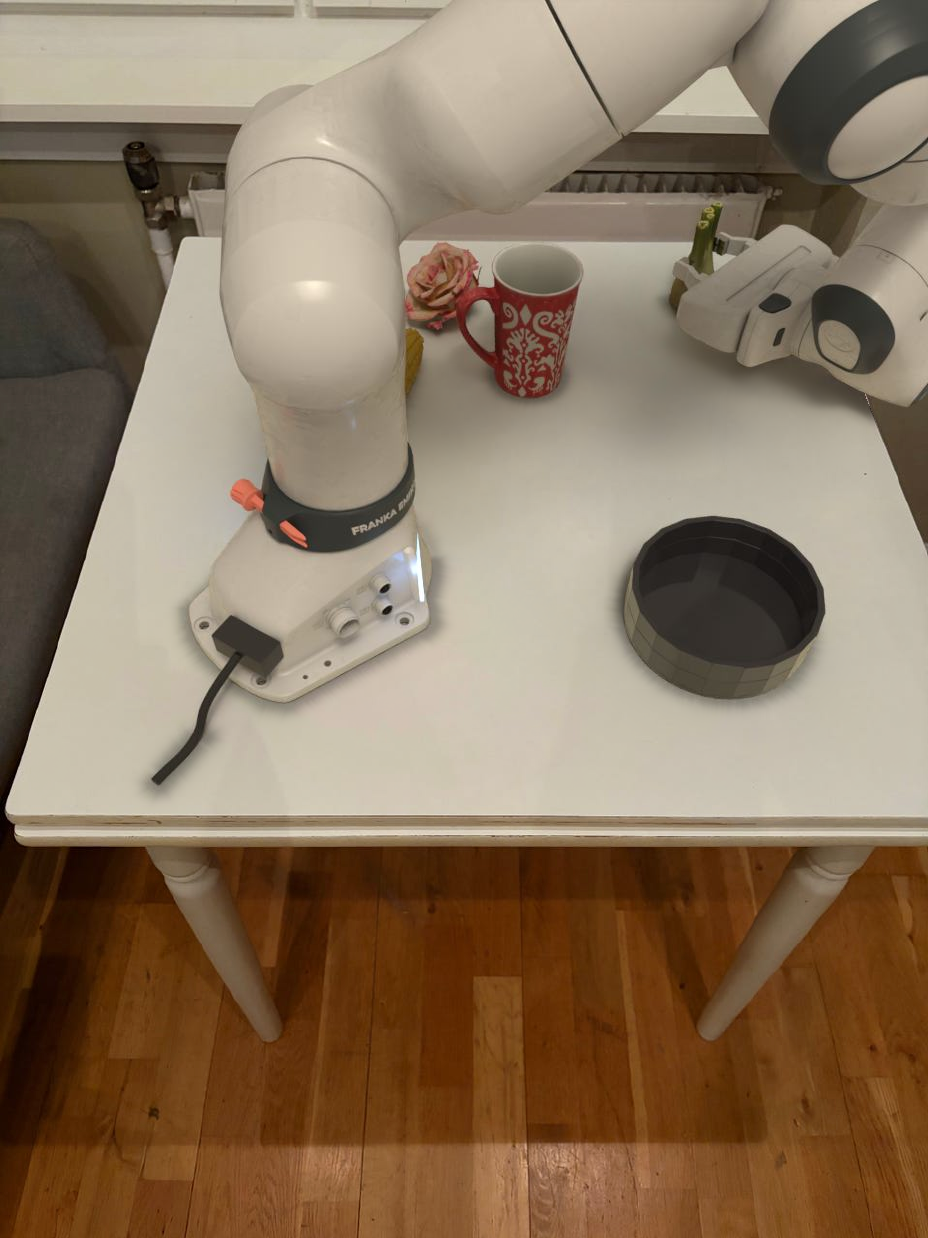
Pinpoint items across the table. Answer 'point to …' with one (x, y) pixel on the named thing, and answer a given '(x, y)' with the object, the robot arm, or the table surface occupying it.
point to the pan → (722, 607)
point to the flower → (440, 283)
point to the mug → (527, 315)
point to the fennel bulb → (700, 250)
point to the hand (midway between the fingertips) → (695, 252)
